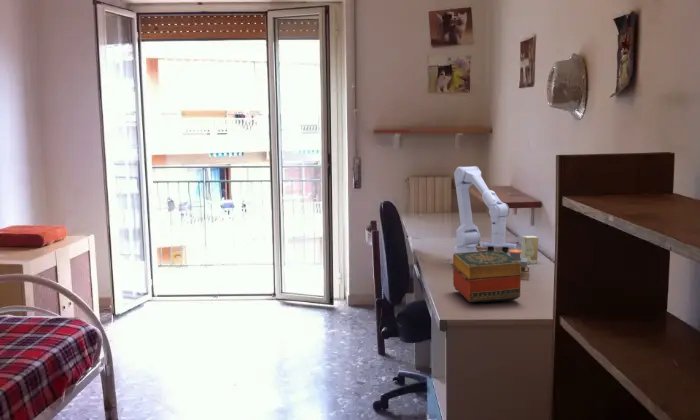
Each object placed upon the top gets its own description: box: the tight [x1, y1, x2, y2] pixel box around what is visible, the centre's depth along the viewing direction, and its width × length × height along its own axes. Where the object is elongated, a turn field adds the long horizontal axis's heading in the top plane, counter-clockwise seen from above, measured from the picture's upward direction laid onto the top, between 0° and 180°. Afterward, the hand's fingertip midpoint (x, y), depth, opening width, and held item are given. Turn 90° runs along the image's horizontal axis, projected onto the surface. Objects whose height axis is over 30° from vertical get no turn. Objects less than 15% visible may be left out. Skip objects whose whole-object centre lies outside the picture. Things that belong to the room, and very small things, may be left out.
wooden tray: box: [520, 265, 530, 281], centre depth 253 cm, size 21×11×4 cm, turn 73°
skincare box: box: [520, 235, 539, 265], centre depth 275 cm, size 6×4×12 cm
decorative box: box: [452, 249, 522, 303], centre depth 219 cm, size 20×22×16 cm
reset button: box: [508, 248, 522, 261], centre depth 260 cm, size 5×5×5 cm
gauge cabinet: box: [516, 257, 528, 267], centre depth 261 cm, size 10×8×5 cm
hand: (497, 264), depth 253 cm, fingers closed on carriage, 3 cm apart
